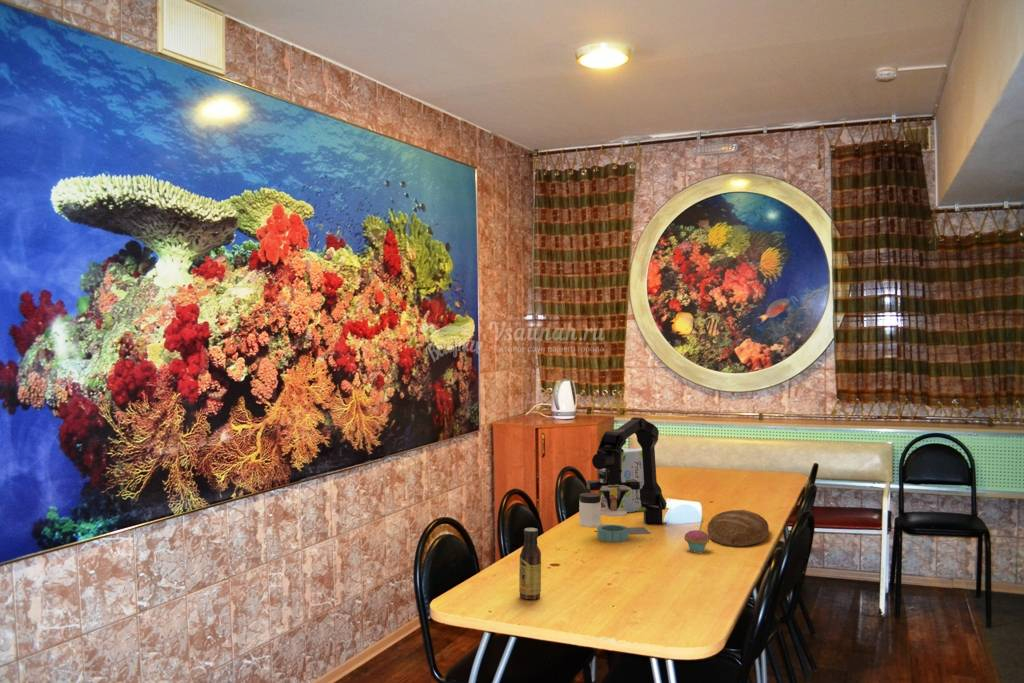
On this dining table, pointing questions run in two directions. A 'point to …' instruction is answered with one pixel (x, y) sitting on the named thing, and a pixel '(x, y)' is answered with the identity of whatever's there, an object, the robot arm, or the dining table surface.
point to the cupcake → (697, 539)
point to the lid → (613, 509)
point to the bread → (738, 528)
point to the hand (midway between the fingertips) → (613, 508)
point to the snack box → (630, 470)
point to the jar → (589, 509)
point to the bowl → (612, 533)
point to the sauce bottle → (530, 566)
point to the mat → (638, 530)
